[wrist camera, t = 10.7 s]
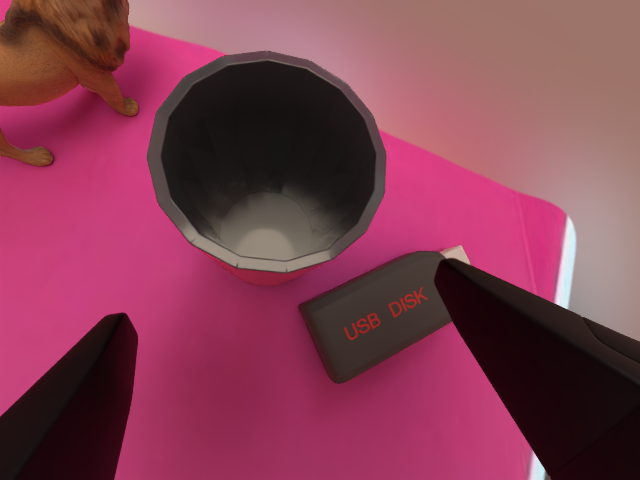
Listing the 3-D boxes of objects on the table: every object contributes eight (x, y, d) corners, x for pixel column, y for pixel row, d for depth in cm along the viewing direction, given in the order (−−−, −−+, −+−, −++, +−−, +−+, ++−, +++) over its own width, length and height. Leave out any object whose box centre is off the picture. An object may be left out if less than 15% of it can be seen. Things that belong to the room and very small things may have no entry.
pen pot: (310, 290, 21) (380, 283, 8) (209, 280, 19) (124, 257, 7) (319, 197, 22) (390, 78, 10) (224, 183, 21) (173, 28, 9)
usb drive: (297, 305, 20) (303, 307, 18) (438, 238, 23) (461, 230, 20) (329, 378, 20) (340, 391, 17) (469, 300, 23) (496, 301, 20)
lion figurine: (129, 31, 21) (39, -149, 13) (184, 83, 21) (132, -60, 13) (-78, 162, 18) (-410, 32, 9) (-10, 225, 18) (-274, 157, 9)
